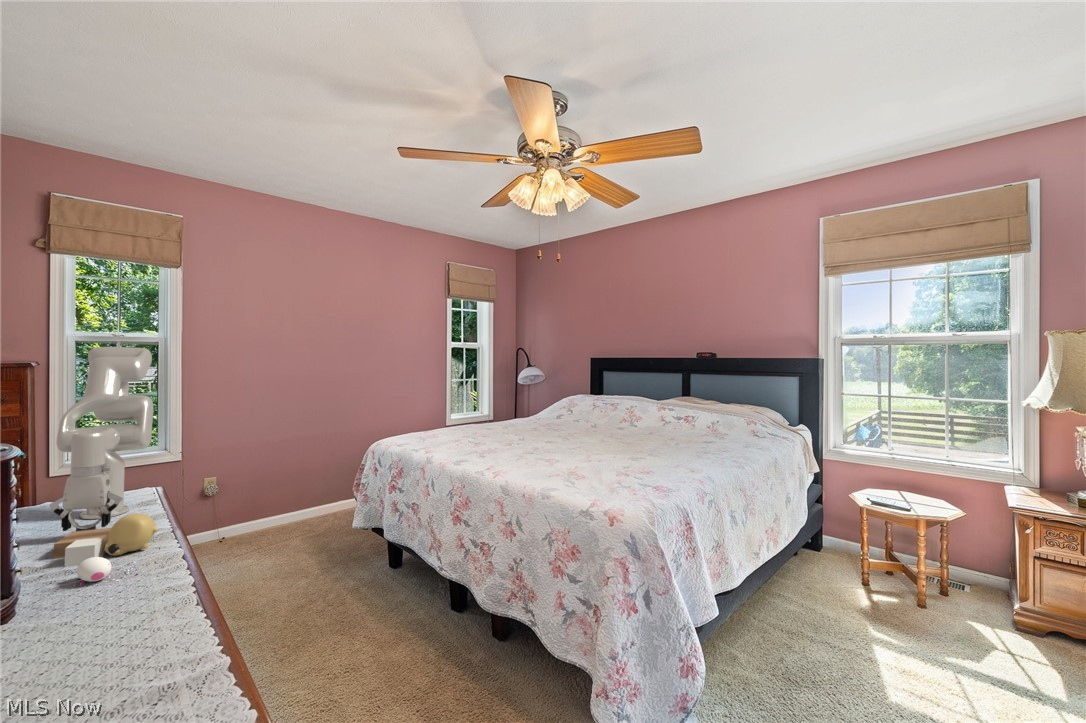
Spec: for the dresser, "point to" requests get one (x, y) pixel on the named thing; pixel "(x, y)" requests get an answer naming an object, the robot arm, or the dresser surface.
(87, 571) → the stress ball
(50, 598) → the dresser surface
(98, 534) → the walnut block
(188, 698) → the dresser surface
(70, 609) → the dresser surface
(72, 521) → the watch
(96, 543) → the off-white block
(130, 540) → the beige rounded piece
